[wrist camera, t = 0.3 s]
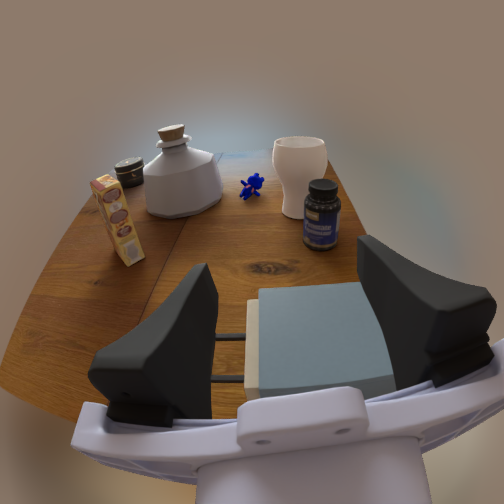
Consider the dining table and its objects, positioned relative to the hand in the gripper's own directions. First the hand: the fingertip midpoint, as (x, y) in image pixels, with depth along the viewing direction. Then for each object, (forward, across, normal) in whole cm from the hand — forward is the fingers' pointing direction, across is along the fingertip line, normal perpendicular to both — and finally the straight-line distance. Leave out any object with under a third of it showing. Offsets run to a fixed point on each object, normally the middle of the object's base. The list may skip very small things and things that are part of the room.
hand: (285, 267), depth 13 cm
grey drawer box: (+6, -2, +20) cm, 21 cm away
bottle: (+52, +22, +14) cm, 59 cm away
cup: (+43, -5, +18) cm, 47 cm away
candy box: (+32, +29, +15) cm, 46 cm away
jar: (+73, +44, +11) cm, 86 cm away
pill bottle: (+31, -6, +19) cm, 37 cm away
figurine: (+52, +5, +17) cm, 55 cm away
